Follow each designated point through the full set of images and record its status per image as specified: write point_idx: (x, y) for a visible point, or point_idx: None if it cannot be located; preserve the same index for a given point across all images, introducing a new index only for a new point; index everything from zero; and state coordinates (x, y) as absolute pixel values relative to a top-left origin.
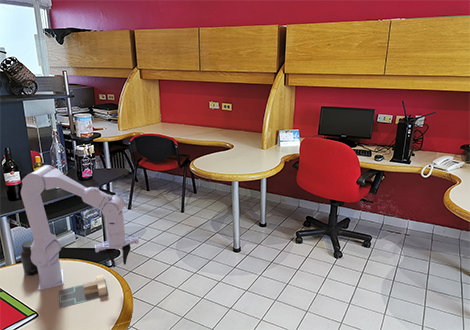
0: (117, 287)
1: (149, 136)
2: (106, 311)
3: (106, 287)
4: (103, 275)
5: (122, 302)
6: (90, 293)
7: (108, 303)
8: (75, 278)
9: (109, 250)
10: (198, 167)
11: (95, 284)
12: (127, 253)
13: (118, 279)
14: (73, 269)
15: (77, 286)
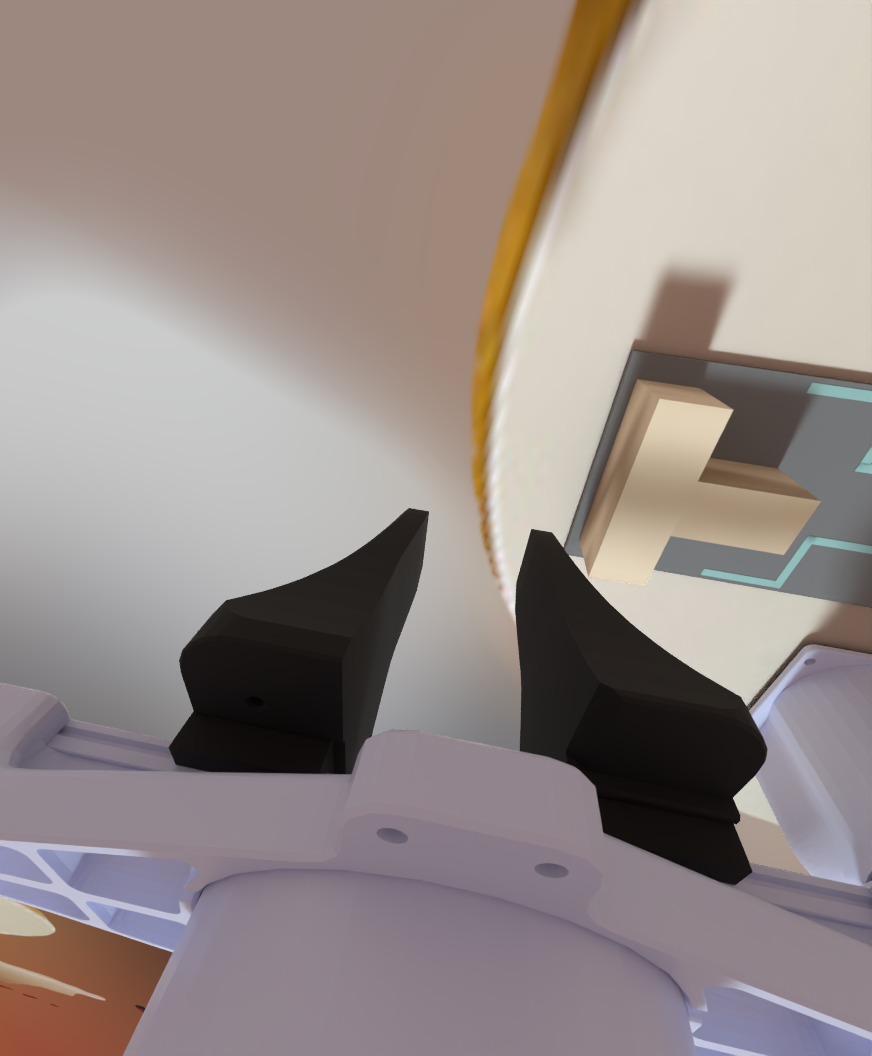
0: (525, 422)
1: None
2: (774, 94)
3: (599, 461)
4: (595, 560)
5: (572, 168)
6: (734, 459)
7: (685, 236)
8: (708, 654)
9: (645, 794)
10: (37, 916)
11: (713, 486)
12: (319, 582)
13: (485, 506)
14: None
15: (755, 580)
